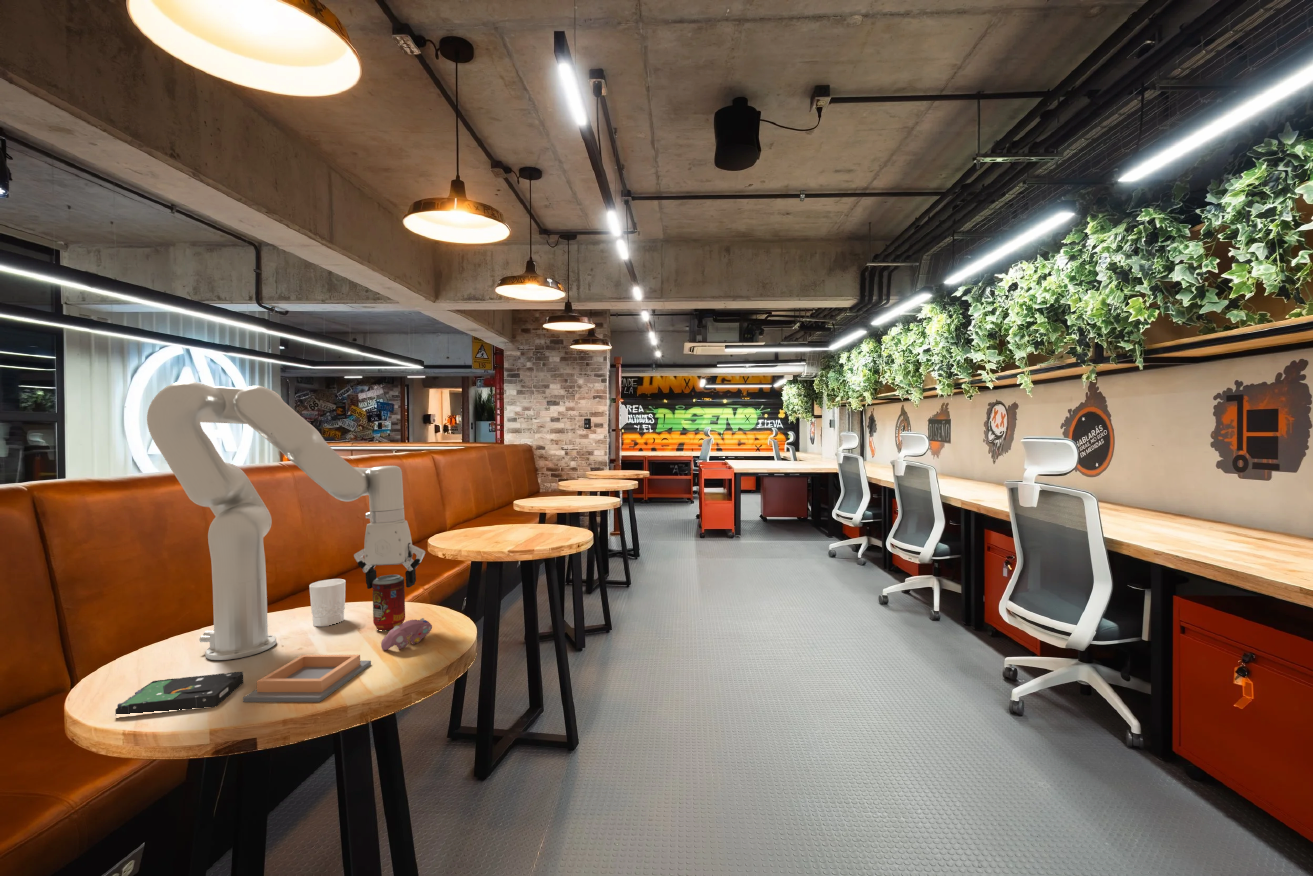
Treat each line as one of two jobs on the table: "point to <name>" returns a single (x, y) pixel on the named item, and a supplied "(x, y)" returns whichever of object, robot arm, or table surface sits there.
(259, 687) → the cradle jig
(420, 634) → the video game controller
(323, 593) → the white cup
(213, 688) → the disk drive
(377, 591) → the soda can
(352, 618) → the table surface
